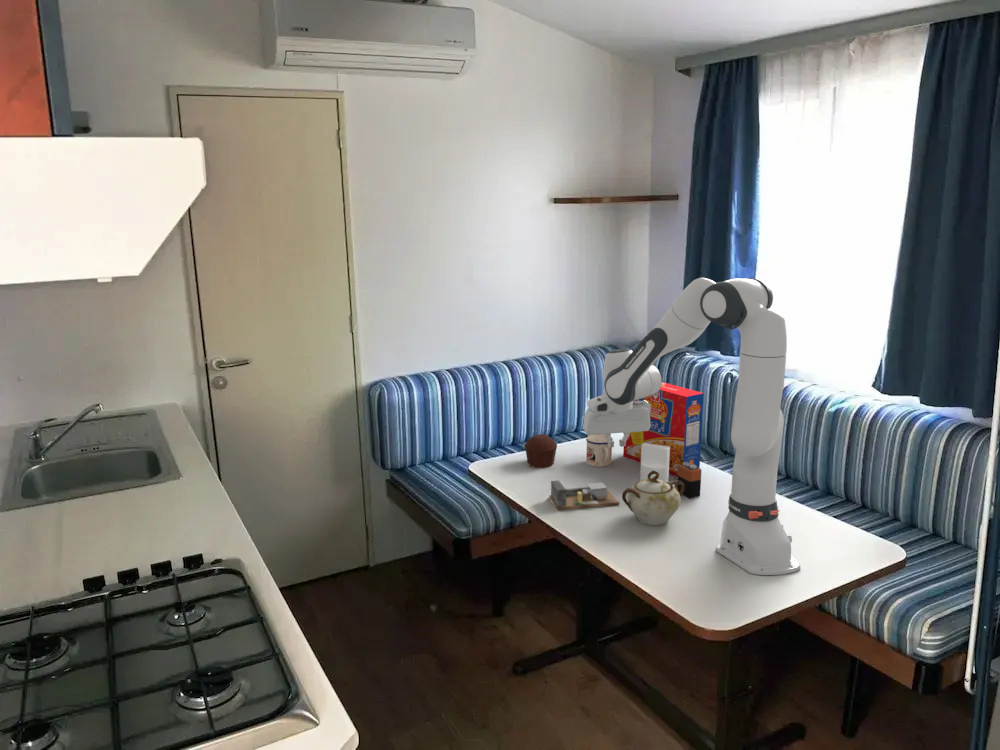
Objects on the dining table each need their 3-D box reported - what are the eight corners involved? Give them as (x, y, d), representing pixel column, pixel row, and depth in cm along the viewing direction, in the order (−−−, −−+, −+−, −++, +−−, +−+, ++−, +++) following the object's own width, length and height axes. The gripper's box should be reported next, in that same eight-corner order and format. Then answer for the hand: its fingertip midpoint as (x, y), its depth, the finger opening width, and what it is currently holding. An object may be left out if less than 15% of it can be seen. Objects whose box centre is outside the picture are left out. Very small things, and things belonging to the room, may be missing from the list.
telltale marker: (580, 500, 242) (580, 491, 242) (581, 502, 241) (582, 493, 240) (577, 501, 242) (577, 491, 242) (578, 503, 241) (578, 493, 240)
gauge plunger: (602, 493, 249) (602, 482, 248) (609, 502, 243) (609, 491, 242) (580, 495, 248) (580, 484, 247) (587, 504, 241) (587, 492, 240)
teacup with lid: (581, 460, 283) (582, 428, 280) (605, 457, 286) (606, 425, 283) (595, 471, 272) (596, 438, 269) (620, 468, 274) (621, 435, 272)
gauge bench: (608, 493, 253) (608, 475, 251) (618, 505, 243) (619, 486, 242) (549, 498, 249) (549, 479, 248) (557, 510, 240) (558, 491, 238)
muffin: (557, 469, 274) (557, 441, 271) (524, 469, 274) (524, 441, 272) (556, 458, 285) (556, 431, 283) (524, 458, 286) (524, 430, 283)
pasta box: (623, 456, 287) (625, 380, 280) (639, 452, 291) (642, 376, 285) (682, 479, 264) (686, 396, 258) (699, 474, 269) (703, 393, 262)
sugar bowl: (633, 534, 223) (635, 483, 220) (610, 514, 237) (611, 465, 233) (696, 525, 229) (699, 475, 225) (670, 505, 243) (672, 458, 239)
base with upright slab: (671, 479, 265) (673, 444, 262) (663, 488, 257) (665, 452, 254) (645, 474, 269) (646, 440, 266) (636, 483, 261) (637, 448, 258)
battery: (689, 499, 248) (690, 468, 245) (675, 491, 254) (677, 461, 251) (700, 496, 249) (702, 466, 247) (686, 489, 255) (688, 459, 253)
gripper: (646, 397, 246) (645, 440, 249) (582, 401, 242) (581, 445, 245) (654, 402, 240) (653, 447, 243) (588, 406, 236) (587, 451, 239)
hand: (616, 446), depth 244 cm, fingers open, 2 cm apart
